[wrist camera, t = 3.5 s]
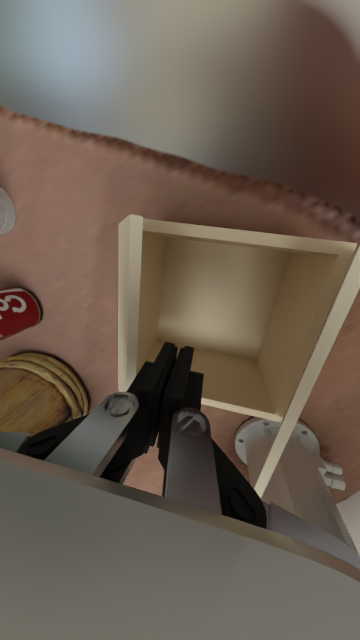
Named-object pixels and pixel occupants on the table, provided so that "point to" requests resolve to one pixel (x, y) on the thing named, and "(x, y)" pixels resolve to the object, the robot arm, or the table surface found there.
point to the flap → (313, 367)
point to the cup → (6, 212)
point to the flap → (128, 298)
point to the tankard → (38, 394)
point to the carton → (237, 307)
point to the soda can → (17, 311)
